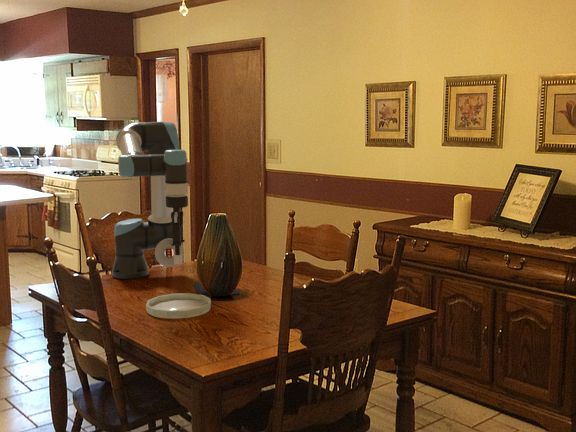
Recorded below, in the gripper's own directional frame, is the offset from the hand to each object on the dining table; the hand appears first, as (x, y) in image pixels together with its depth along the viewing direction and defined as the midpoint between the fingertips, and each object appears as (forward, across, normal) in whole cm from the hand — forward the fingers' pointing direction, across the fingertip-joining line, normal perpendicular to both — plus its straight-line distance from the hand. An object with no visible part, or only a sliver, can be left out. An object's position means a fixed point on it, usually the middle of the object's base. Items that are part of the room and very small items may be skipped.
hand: (178, 262), depth 234 cm
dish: (+17, 0, 0) cm, 17 cm away
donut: (+2, 0, -3) cm, 4 cm away
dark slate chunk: (+18, -25, +11) cm, 33 cm away
